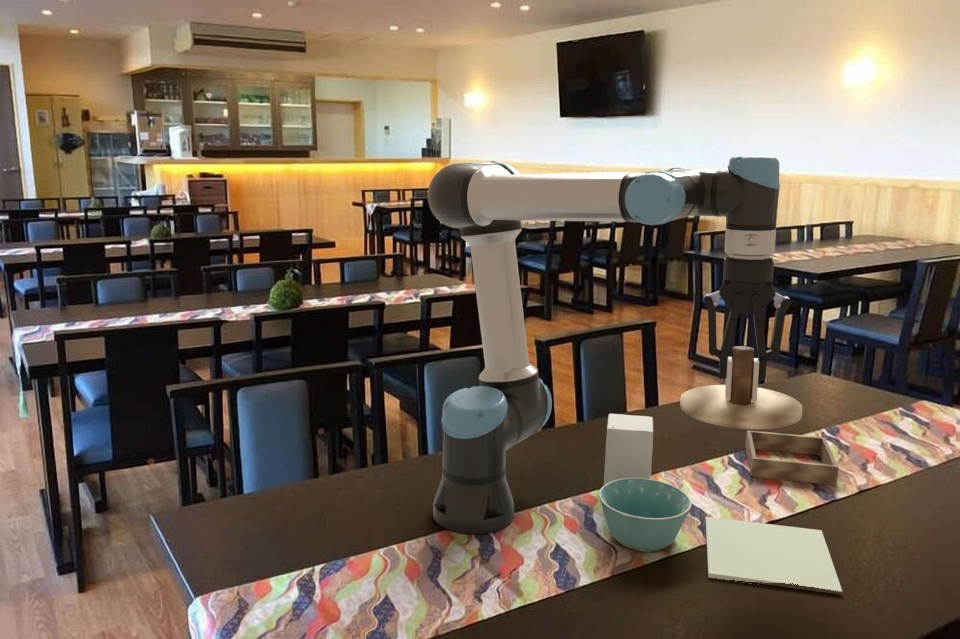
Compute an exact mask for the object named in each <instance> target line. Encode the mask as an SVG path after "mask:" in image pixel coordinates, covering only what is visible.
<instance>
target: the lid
mask: <svg viewBox="0 0 960 639" xmlns="http://www.w3.org/2000/svg"><path fill="white" fill-rule="evenodd" d="M731 350H732V351H731V357H732V361H733V362H732V380H731V397H730V400H727V399H725V385H726V384H713V385H712V384H710V385H704V386H698V387H694V388H691V389H688V390H686V391H685V392H683V393H682V394H681V396H680V398H679V406H680V408H681V411H682V412H684V413H685V414H686V415H687V416H689V417H691V418H693V419H695V420H698V421H701V422H704V423H706V424H712V425H715V426H719V427H725V428H731V429H732V428H733V429H741V430H770V429H771V430H772V429H780V428H784V427H789V426H791V425H794V424H796V423H798V422H800V421H801V419H802V417H803V405H802V403H800V401H799V400H797V399H796V398H794V397H792V396H790V395H788V394H785V393H782V392H779V391H775V390H772V389H769V388H768V389H767V388H763V387H758V390H757V401H752V399H751V396H752V380H753V365H754V358H755V348H753V347H750V346H744V345H743V346H742V345H739V346H738V345H737V346H733V347H732V349H731Z"/></svg>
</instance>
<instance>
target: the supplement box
mask: <svg viewBox="0 0 960 639" xmlns="http://www.w3.org/2000/svg"><path fill="white" fill-rule="evenodd" d="M607 416H608V417H607V426H606V440H605V456H604V457H605V458H604V475H603V486H604V485H605V484H607V483H609V482H611V481H614V480H618V479H624V478H646V479H652V478H651V477H652V476H651V475H652V464H653V463H652V462H653V450H654V449H653V444H654V419H653V416H647V415H630V414H621V413H619V414H618V413H608V415H607Z"/></svg>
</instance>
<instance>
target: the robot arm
mask: <svg viewBox="0 0 960 639" xmlns="http://www.w3.org/2000/svg"><path fill="white" fill-rule="evenodd" d="M780 188H781V185H780V160H779V159H778V158H777V157H775V156H773V155H734V156H731V157H730V159H729V161H728V166H727V167H726V168H725V167H724V168H688V167H687V168H682V167H670V168H662V169H658V170H657V171H634V172H629V171H628V172H627V171H625V172H621V171H620V172H619V171H618V172H573V173H572V172H568V173H564V172H563V173H561V172H560V173H522V174H521V173H520V171H519V170H517V169H516V168H515V167H514V166H512V165H511V164H508V163H506V162H501V161H495V160H489V161H488V160H485V161H478V162H477V161H475V162H461V163H460V162H458V163H451V164H448V165H447V166H445V167H443V168H441V169H439V170H438V172H436V174H435V175H434V176H433V178H432V179H431V181H430V184H429V186H428V190H427V202H428V205H429V208H430V211H431V213H432V214H433V216H434V217H435V218H436V220H438V221H439V222H440V223H441V224H443V225H445V226H447V227H449V228H452V229H459V230H460V238H461V239H462V240H463V241H465V242H466V243H467V244H468V245H469V246H470V254H471V263H472V270H473V280H474V287H475V293H476V294H475V296H476V301H477V311H478V318H479V327H480V335H481V343H482V350H483V359H484V368H483V370H482V371H481V373H480V374H478V381H479V385H477V386H470V388H468V387H463V388H461V389H457V390H455V391H454V392H452V393H450V394H449V395H448V396H447V397H446V399H445V400H444V402H443V405H442V413H441V414H442V415H441V419H440V420H441V433H442V434H441V438H442V440H441V443H442V445H441V447H442V449H441V450H442V453H441V455H442V461H441V462H442V463H441V464H442V476H441V480H440V483H439V485H438V489H437V491H436V494H435V497H434V500H433V505H432V512H433V514H432V517H433V519H434V521H435V522H436V523H437V524H438V525H439V526H441V527H442V528H444V529H446V530H448V531H451V532H455V533H460V534H468V535H477V534H488V533H493V532H496V531H500V530H502V529H503V528H505V527H508V526H509V525H510V524H512V522H513V521H514V518H515V501H514V498H513V496H512V493H511V490H510V487H509V482H508V481H507V477H506V459H507V457H506V454H507V453H506V452H507V451H508V450H509V449H511V448H513V447H514V446H515V445H517V444H519V443H520V442H522V441H524V440H525V439H528V438H530V437H532V436H533V435H536V433H538V432H539V430H541V429H542V428H543V426H545V424H546V423H547V422H548V420H549V418H550V415H551V412H552V406H553V404H552V403H553V401H552V394H551V391H550V389H549V388H548V386H547V385H546V384H545V383H544V382H543V380H542V379H541V378H540V377H539V376H540V375H539V370H538V368H537V367H536V366H534V364H532V363H530V360H529V358H530V357H529V350H528V341H527V334H526V326H525V324H526V322H525V317H524V316H525V315H524V307H523V299H522V291H521V290H522V289H521V283H520V282H521V281H520V273H519V266H518V255H517V248H516V239H517V237H518V236H519V234H520V233H521V232H522V230H523V229H522V222H521V221H541V222H542V221H544V222H546V221H547V222H550V221H551V222H552V221H553V222H614V223H615V222H617V223H619V222H623V223H624V222H625V223H627V222H628V223H641V224H643V225H649V226H657V225H665V224H667V223H670V222H673V221H675V220H679V219H680V220H681V219H684V218H687V217H688V218H689V217H717V218H719V217H723V218H724V217H725V237H724V253H725V254H727V255H726V256H725V258H723V273H722V283H721V284H720V287H719V289H718V290H717V291H714V292H712V293H705V294H704V295H703V302H704V304H705V306H706V309H707V324H708V328H707V330H708V331H707V333H708V353H709V355H710V356H714V357H716V358H718V360H719V365H718V367H719V368H718V376H719V378H720V379H725V384H724V385H725V399H727V400H730V397H731V380H732V362H733V361H732V356H730V355H729V354H730V351H731V346H732V342H733V338H734V335H735V330H736V327H737V322H738V320H739V315H745V314H747V315H750V316H751V315H752V316H753V323H754V324H753V325H754V332H755V340H756V349H757V357H754V365H753V380H752V396H751V399H752V401H757V390H758V388H759V385H758V384H759V381H765V380H766V376H767V363H768V361H769V360H773V359H775V360H776V359H779V357H780V352H781V347H782V345H781V344H782V338H783V333H784V332H783V331H784V325H785V320H786V314H787V312H788V309H789V308H790V307H791V305H792V301H791V299H790V297H789V296H787V295H784V296H783V295H781V294H780V293H778V292H776V289H775V287H774V285H773V284H774V270H775V269H774V268H775V259H774V258H773V257H771V256H773V255H774V254H775V253H776V238H777V237H776V236H777V219H778V218H777V217H778V207H779V194H780ZM720 298H721V299H722V300H723V302H724V303H725V305H726V306H727V307H728V309H729V312H728V318H727V322H726V326H725V330H724V335H723V338H722V343H721V346H720V347H719V346H717V343H718V342H717V312H716V311H717V310H716V307H717V306H718V305H719V303H720ZM773 300H774V301H773ZM771 301H773V302H774V303H773V305H774V308H775V309H776V310H775V313H774V321H773V328H772V335H771V339H770V340H771V342H770V349H768V350H767V348H766V339H765V330H764V323H763V322H764V321H763V320H764V319H763V313H762V312H763V311H764V309H766V308H767V306H768V305H769V304H771Z"/></svg>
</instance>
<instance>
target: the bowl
mask: <svg viewBox="0 0 960 639" xmlns="http://www.w3.org/2000/svg"><path fill="white" fill-rule="evenodd" d="M598 496H599V500H600V503H601V508H602V511H603V515H604V517H605V518H604V519H605V521H606V524H607V527H608V529H609V533H610V534H611V536H612V537H613V539H614V540H616V541H617V542H618V543H619V544H621V545H622V546H623V547H625V548H627V549H629V550H633V551H637V552H643V553H646V552H647V553H649V552H650V553H651V552H658V551H660V550H662V549H665V548H666V547H668V546H670V545H671V544H673V543H674V542H675V540H676V538H677V537H678V534H679V532H680V531H681V529H682V527H683V525H684V522H685V520H686V519H687V517H688V515H689V512H690V510H691V509H692V500H691V497H690V496H689V495H688V494H687V493H686V492H685V491H684V490H682V489H681V488H678V487H677V486H675V485H672V484H671V483H667V482H664V481H660V480H657V479H654V478H651V479H646V478H624V479H618V480H614V481H611V482H609V483H607V484H605V485H604V484H603V486H602V487H601V488H600V489H599V492H598Z"/></svg>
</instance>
